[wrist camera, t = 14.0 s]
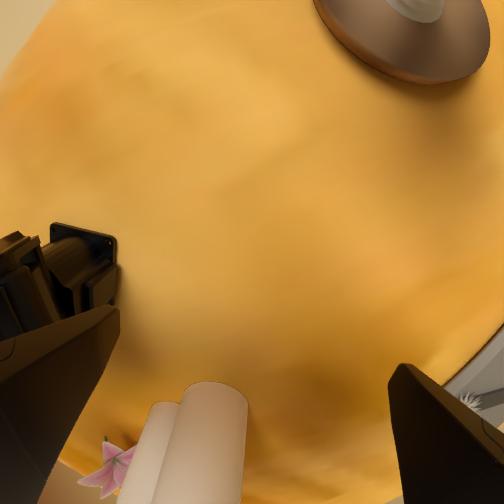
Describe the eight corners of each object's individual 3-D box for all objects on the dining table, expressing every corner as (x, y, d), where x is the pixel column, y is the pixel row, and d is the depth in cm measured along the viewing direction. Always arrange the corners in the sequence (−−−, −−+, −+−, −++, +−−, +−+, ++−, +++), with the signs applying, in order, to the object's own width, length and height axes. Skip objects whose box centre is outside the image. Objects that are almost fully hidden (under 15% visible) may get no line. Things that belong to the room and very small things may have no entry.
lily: (146, 465, 35) (162, 513, 26) (71, 454, 29) (75, 505, 21) (165, 412, 35) (186, 464, 26) (78, 396, 29) (79, 452, 20)
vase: (214, 370, 25) (168, 592, 6) (265, 411, 27) (258, 603, 8) (142, 410, 28) (84, 565, 9) (190, 443, 30) (157, 589, 11)
